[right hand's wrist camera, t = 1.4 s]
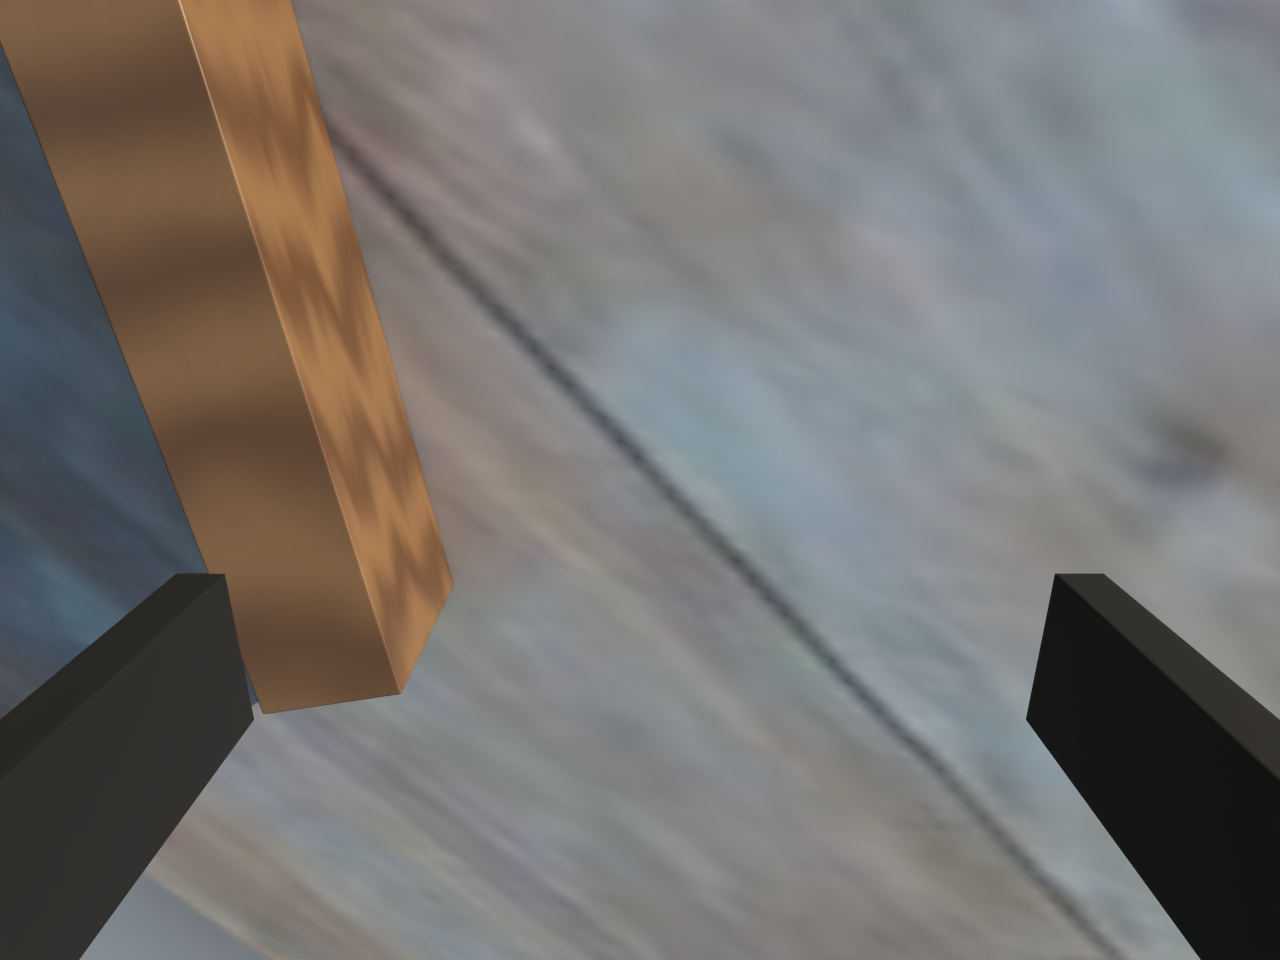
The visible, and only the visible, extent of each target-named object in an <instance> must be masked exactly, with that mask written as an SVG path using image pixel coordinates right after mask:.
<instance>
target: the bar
mask: <svg viewBox="0 0 1280 960" xmlns="http://www.w3.org/2000/svg"><path fill="white" fill-rule="evenodd" d="M0 44H1V46H2V49H3V51H4V54H5V57H6V59H7V62H8V64H9V67H10V69H11V72H12V74H13V77H14V79H15V82H16V85H17V87H18V90H19V92H20V95H21V97H22V100H23V102H24V105H25V108H26V110H27V113H28V115H29V118H30V120H31V123H32V125H33V128H34V130H35V133H36V136H37V138H38V141H39V143H40V146H41V148H42V151H43V153H44V156H45V159H46V161H47V164H48V166H49V169H50V171H51V174H52V176H53V179H54V181H55V184H56V187H57V189H58V192H59V194H60V197H61V199H62V202H63V204H64V207H65V210H66V212H67V215H68V217H69V220H70V222H71V225H72V227H73V230H74V232H75V235H76V238H77V240H78V243H79V245H80V248H81V250H82V253H83V255H84V258H85V261H86V263H87V266H88V268H89V271H90V273H91V276H92V278H93V281H94V284H95V286H96V289H97V291H98V294H99V296H100V299H101V301H102V304H103V306H104V309H105V312H106V314H107V317H108V319H109V322H110V324H111V327H112V329H113V332H114V335H115V337H116V340H117V342H118V345H119V347H120V350H121V352H122V355H123V357H124V360H125V363H126V365H127V368H128V370H129V373H130V375H131V378H132V380H133V383H134V386H135V388H136V391H137V393H138V396H139V398H140V401H141V403H142V406H143V408H144V411H145V414H146V416H147V419H148V421H149V424H150V426H151V429H152V431H153V434H154V437H155V439H156V442H157V444H158V447H159V449H160V452H161V454H162V457H163V460H164V462H165V465H166V467H167V470H168V472H169V475H170V477H171V480H172V482H173V485H174V488H175V490H176V493H177V495H178V498H179V500H180V503H181V505H182V508H183V511H184V513H185V516H186V518H187V521H188V523H189V526H190V528H191V531H192V533H193V536H194V539H195V541H196V544H197V546H198V549H199V551H200V554H201V556H202V559H203V562H204V564H205V567H206V569H207V572H208V574H225V577H226V582H227V587H228V592H229V597H230V602H231V607H232V612H233V617H234V622H235V627H236V632H237V637H238V642H239V647H240V652H241V657H242V661H243V664H244V666H245V669H246V671H247V674H248V676H249V679H250V681H251V684H252V687H253V689H254V692H255V694H256V697H257V699H258V702H259V704H260V707H261V709H262V712H263V713H264V714H268V713H275V712H282V711H289V710H295V709H302V708H309V707H316V706H323V705H329V704H336V703H343V702H350V701H356V700H363V699H370V698H377V697H384V696H390V695H397V694H401V693H402V691H403V689H404V687H405V685H406V683H407V681H408V679H409V676H410V674H411V672H412V670H413V668H414V666H415V664H416V662H417V660H418V658H419V656H420V654H421V652H422V650H423V648H424V645H425V643H426V641H427V639H428V637H429V635H430V633H431V631H432V629H433V627H434V625H435V623H436V621H437V619H438V617H439V614H440V612H441V610H442V608H443V606H444V604H445V602H446V600H447V598H448V596H449V594H450V592H451V590H452V588H453V581H452V577H451V574H450V570H449V567H448V563H447V559H446V556H445V552H444V549H443V545H442V541H441V538H440V534H439V531H438V527H437V524H436V520H435V516H434V513H433V509H432V506H431V502H430V498H429V495H428V491H427V488H426V484H425V480H424V477H423V473H422V470H421V466H420V463H419V459H418V455H417V452H416V448H415V445H414V441H413V437H412V434H411V430H410V427H409V423H408V419H407V416H406V412H405V409H404V405H403V402H402V398H401V394H400V391H399V387H398V384H397V380H396V376H395V373H394V369H393V366H392V362H391V358H390V355H389V351H388V348H387V344H386V341H385V337H384V333H383V330H382V326H381V323H380V319H379V315H378V312H377V308H376V305H375V301H374V297H373V294H372V290H371V287H370V283H369V280H368V276H367V272H366V269H365V265H364V262H363V258H362V254H361V251H360V247H359V244H358V240H357V237H356V233H355V229H354V226H353V222H352V219H351V215H350V211H349V208H348V204H347V201H346V197H345V193H344V190H343V186H342V183H341V179H340V176H339V172H338V168H337V165H336V161H335V158H334V154H333V150H332V147H331V143H330V140H329V136H328V132H327V129H326V125H325V122H324V118H323V115H322V111H321V107H320V104H319V100H318V97H317V93H316V89H315V86H314V82H313V79H312V75H311V71H310V68H309V64H308V61H307V57H306V54H305V50H304V46H303V43H302V39H301V36H300V32H299V28H298V25H297V21H296V18H295V14H294V10H293V7H292V3H291V0H0Z"/></svg>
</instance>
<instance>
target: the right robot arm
mask: <svg viewBox="0 0 1280 960" xmlns="http://www.w3.org/2000/svg"><path fill="white" fill-rule="evenodd" d="M253 720H254V717H253V712H252V707H251V702H250V697H249V692H248V687H247V682H246V677H245V672H244V667H243V662H242V657H241V652H240V647H239V642H238V637H237V632H236V627H235V622H234V617H233V612H232V607H231V602H230V597H229V592H228V587H227V582H226V577H225V574H176V575H174V576H173V577H172V578H171V579H169V580H168V581H167V582H166V583H165V584H163V585H162V586H161V587H160V588H159V589H157V590H156V591H155V592H154V593H153V594H151V595H150V596H149V597H148V598H147V599H145V600H144V601H143V602H142V603H141V604H139V605H138V606H137V607H136V608H135V609H133V610H132V611H131V612H130V613H128V614H127V615H126V616H125V617H124V618H122V619H121V620H120V621H119V622H118V623H116V624H115V625H114V626H113V627H112V628H110V629H109V630H108V631H107V632H106V633H104V634H103V635H102V636H101V637H100V638H98V639H97V640H96V641H95V642H94V643H92V644H91V645H90V646H89V647H88V648H86V649H85V650H84V651H83V652H81V653H80V654H79V655H78V656H77V657H75V658H74V659H73V660H72V661H71V662H69V663H68V664H67V665H66V666H65V667H63V668H62V669H61V670H60V671H59V672H57V673H56V674H55V675H54V676H53V677H51V678H50V679H49V680H48V681H47V682H45V683H44V684H43V685H42V686H40V687H39V688H38V689H37V690H36V691H34V692H33V693H32V694H31V695H30V696H28V697H27V698H26V699H25V700H24V701H22V702H21V703H20V704H19V705H18V706H16V707H15V708H14V709H13V710H12V711H10V712H9V713H8V714H7V715H6V716H4V717H3V718H2V719H1V720H0V960H79V959H80V958H81V956H82V955H83V954H84V952H85V951H86V949H87V948H88V947H89V945H90V944H91V943H92V941H93V940H94V939H95V937H96V936H97V934H98V933H99V932H100V930H101V929H102V928H103V926H104V925H105V923H106V922H107V921H108V919H109V918H110V916H111V915H112V914H113V912H114V911H115V910H116V908H117V907H118V906H119V904H120V903H121V901H122V900H123V899H124V897H125V896H126V895H127V893H128V892H129V890H130V889H131V888H132V886H133V885H134V884H135V882H136V881H137V879H138V878H139V877H140V875H141V874H142V873H143V871H144V870H145V868H146V867H147V866H148V864H149V863H150V862H151V860H152V859H153V857H154V856H155V855H156V853H157V852H158V851H159V849H160V848H161V846H162V845H163V844H164V842H165V841H166V840H167V838H168V837H169V836H170V834H171V833H172V831H173V830H174V829H175V827H176V826H177V825H178V823H179V822H180V820H181V819H182V818H183V816H184V815H185V814H186V812H187V811H188V809H189V808H190V807H191V805H192V804H193V803H194V801H195V800H196V798H197V797H198V796H199V794H200V793H201V792H202V790H203V789H204V787H205V786H206V785H207V783H208V782H209V781H210V779H211V778H212V776H213V775H214V774H215V772H216V771H217V770H218V768H219V767H220V765H221V764H222V763H223V761H224V760H225V759H226V757H227V756H228V754H229V753H230V752H231V750H232V749H233V748H234V746H235V745H236V743H237V742H238V741H239V739H240V738H241V737H242V735H243V734H244V732H245V731H246V730H247V728H248V727H249V726H250V724H251V723H252V722H253ZM1026 720H1027V722H1028V723H1029V724H1030V726H1031V727H1032V728H1033V730H1034V731H1035V732H1036V734H1037V735H1038V737H1039V738H1040V739H1041V741H1042V742H1043V743H1044V745H1045V746H1046V748H1047V749H1048V750H1049V752H1050V753H1051V754H1052V756H1053V757H1054V759H1055V760H1056V761H1057V763H1058V764H1059V765H1060V767H1061V768H1062V770H1063V771H1064V772H1065V774H1066V775H1067V776H1068V778H1069V779H1070V781H1071V782H1072V783H1073V785H1074V786H1075V787H1076V789H1077V790H1078V792H1079V793H1080V794H1081V796H1082V797H1083V798H1084V800H1085V801H1086V803H1087V804H1088V805H1089V807H1090V808H1091V809H1092V811H1093V812H1094V814H1095V815H1096V816H1097V818H1098V819H1099V820H1100V822H1101V823H1102V825H1103V826H1104V827H1105V829H1106V830H1107V831H1108V833H1109V834H1110V836H1111V837H1112V838H1113V840H1114V841H1115V842H1116V844H1117V845H1118V847H1119V848H1120V849H1121V851H1122V852H1123V853H1124V855H1125V856H1126V857H1127V859H1128V860H1129V862H1130V863H1131V864H1132V866H1133V867H1134V868H1135V870H1136V871H1137V873H1138V874H1139V875H1140V877H1141V878H1142V879H1143V881H1144V882H1145V884H1146V885H1147V886H1148V888H1149V889H1150V890H1151V892H1152V893H1153V895H1154V896H1155V897H1156V899H1157V900H1158V901H1159V903H1160V904H1161V906H1162V907H1163V908H1164V910H1165V911H1166V912H1167V914H1168V915H1169V917H1170V918H1171V919H1172V921H1173V922H1174V923H1175V925H1176V926H1177V928H1178V929H1179V930H1180V932H1181V933H1182V934H1183V936H1184V937H1185V939H1186V940H1187V941H1188V943H1189V944H1190V945H1191V947H1192V948H1193V950H1194V951H1195V952H1196V954H1197V955H1198V956H1199V958H1200V959H1201V960H1280V720H1279V719H1278V718H1277V717H1276V716H1274V715H1273V714H1272V713H1271V712H1270V711H1268V710H1267V709H1266V708H1265V707H1264V706H1262V705H1261V704H1260V703H1259V702H1258V701H1256V700H1255V699H1254V698H1253V697H1252V696H1250V695H1249V694H1248V693H1247V692H1246V691H1244V690H1243V689H1242V688H1241V687H1240V686H1238V685H1237V684H1236V683H1235V682H1233V681H1232V680H1231V679H1230V678H1229V677H1227V676H1226V675H1225V674H1224V673H1223V672H1221V671H1220V670H1219V669H1218V668H1217V667H1215V666H1214V665H1213V664H1212V663H1211V662H1209V661H1208V660H1207V659H1206V658H1205V657H1203V656H1202V655H1201V654H1200V653H1199V652H1197V651H1196V650H1195V649H1194V648H1192V647H1191V646H1190V645H1189V644H1188V643H1186V642H1185V641H1184V640H1183V639H1182V638H1180V637H1179V636H1178V635H1177V634H1176V633H1174V632H1173V631H1172V630H1171V629H1170V628H1168V627H1167V626H1166V625H1165V624H1164V623H1162V622H1161V621H1160V620H1159V619H1158V618H1156V617H1155V616H1154V615H1153V614H1152V613H1150V612H1149V611H1148V610H1147V609H1145V608H1144V607H1143V606H1142V605H1141V604H1139V603H1138V602H1137V601H1136V600H1135V599H1133V598H1132V597H1131V596H1130V595H1129V594H1127V593H1126V592H1125V591H1124V590H1123V589H1121V588H1120V587H1119V586H1118V585H1117V584H1115V583H1114V582H1113V581H1112V580H1111V579H1109V578H1108V577H1107V576H1106V575H1104V574H1055V577H1054V582H1053V587H1052V592H1051V597H1050V602H1049V607H1048V612H1047V617H1046V622H1045V627H1044V632H1043V637H1042V642H1041V647H1040V652H1039V657H1038V662H1037V667H1036V672H1035V677H1034V682H1033V687H1032V692H1031V697H1030V702H1029V707H1028V712H1027V717H1026Z"/></svg>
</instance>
